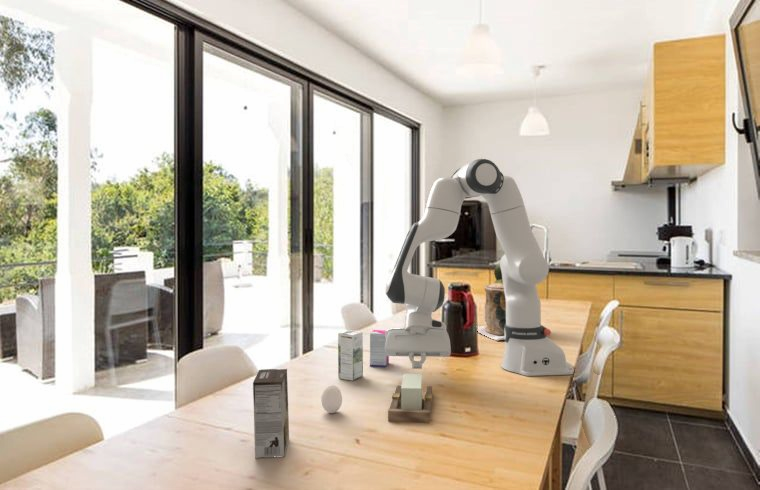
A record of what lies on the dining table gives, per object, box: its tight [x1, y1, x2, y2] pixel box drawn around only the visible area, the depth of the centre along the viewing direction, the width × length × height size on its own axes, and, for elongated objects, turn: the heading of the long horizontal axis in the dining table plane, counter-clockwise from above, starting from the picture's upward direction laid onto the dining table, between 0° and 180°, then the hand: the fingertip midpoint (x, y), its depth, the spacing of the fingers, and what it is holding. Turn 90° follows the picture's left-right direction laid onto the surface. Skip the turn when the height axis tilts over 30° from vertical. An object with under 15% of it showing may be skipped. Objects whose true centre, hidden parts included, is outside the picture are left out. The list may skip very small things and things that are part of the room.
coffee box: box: [252, 368, 290, 459], centre depth 105 cm, size 9×6×16 cm
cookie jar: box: [477, 263, 506, 342], centre depth 210 cm, size 25×25×32 cm
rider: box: [400, 373, 423, 410], centre depth 128 cm, size 5×12×7 cm, turn 174°
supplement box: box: [369, 329, 390, 368], centre depth 167 cm, size 6×6×12 cm
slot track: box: [387, 385, 433, 424], centre depth 128 cm, size 10×20×3 cm, turn 172°
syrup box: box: [337, 329, 364, 382], centre depth 153 cm, size 6×6×14 cm
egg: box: [320, 383, 343, 414], centre depth 124 cm, size 5×5×7 cm
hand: (417, 367), depth 145 cm, fingers closed
